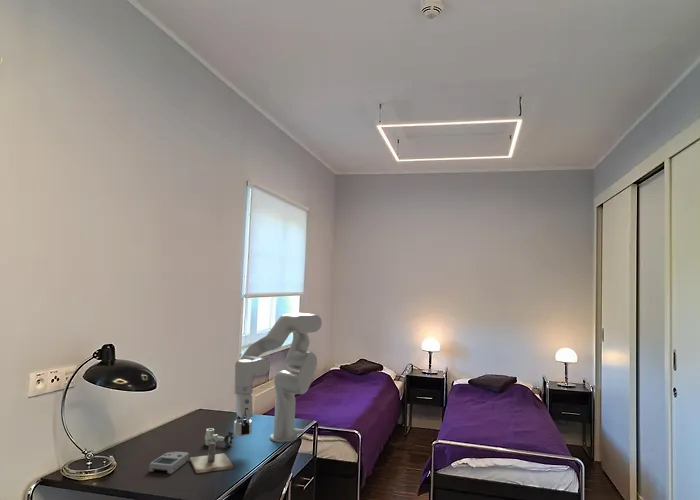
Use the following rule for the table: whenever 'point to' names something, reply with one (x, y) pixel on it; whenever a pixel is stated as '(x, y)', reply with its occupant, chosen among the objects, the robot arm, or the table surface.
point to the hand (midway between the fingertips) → (242, 430)
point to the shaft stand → (211, 461)
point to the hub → (239, 427)
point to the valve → (217, 437)
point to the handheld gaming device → (169, 461)
